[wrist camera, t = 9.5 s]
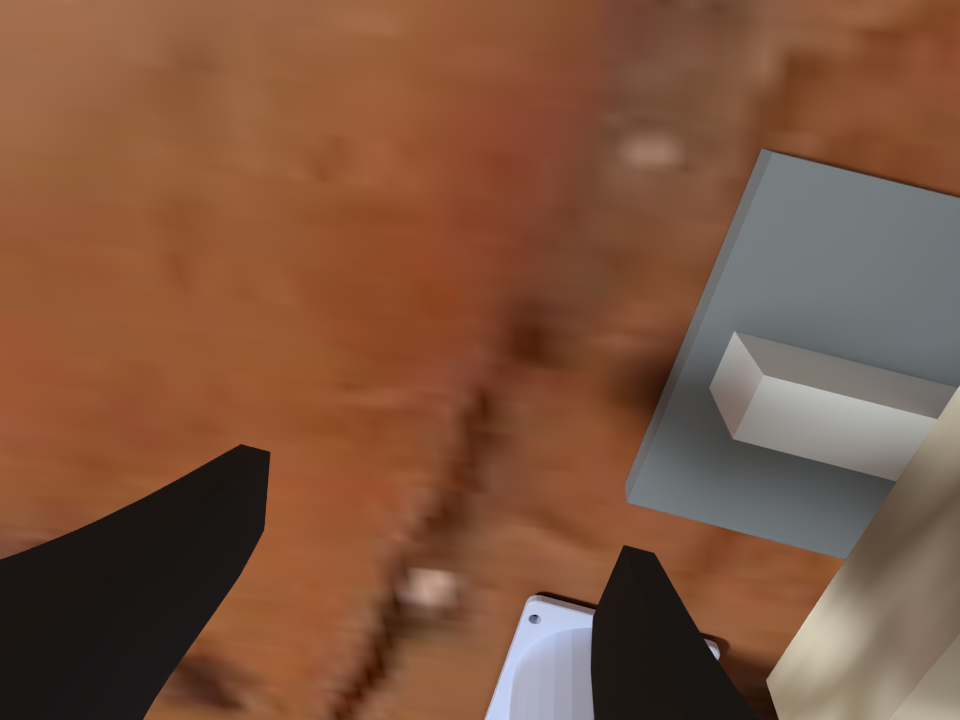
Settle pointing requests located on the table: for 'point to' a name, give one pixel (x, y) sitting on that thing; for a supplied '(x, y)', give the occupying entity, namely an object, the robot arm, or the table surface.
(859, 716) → the birch beam
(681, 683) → the robot arm
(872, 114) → the table surface
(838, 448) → the grey stepped base
